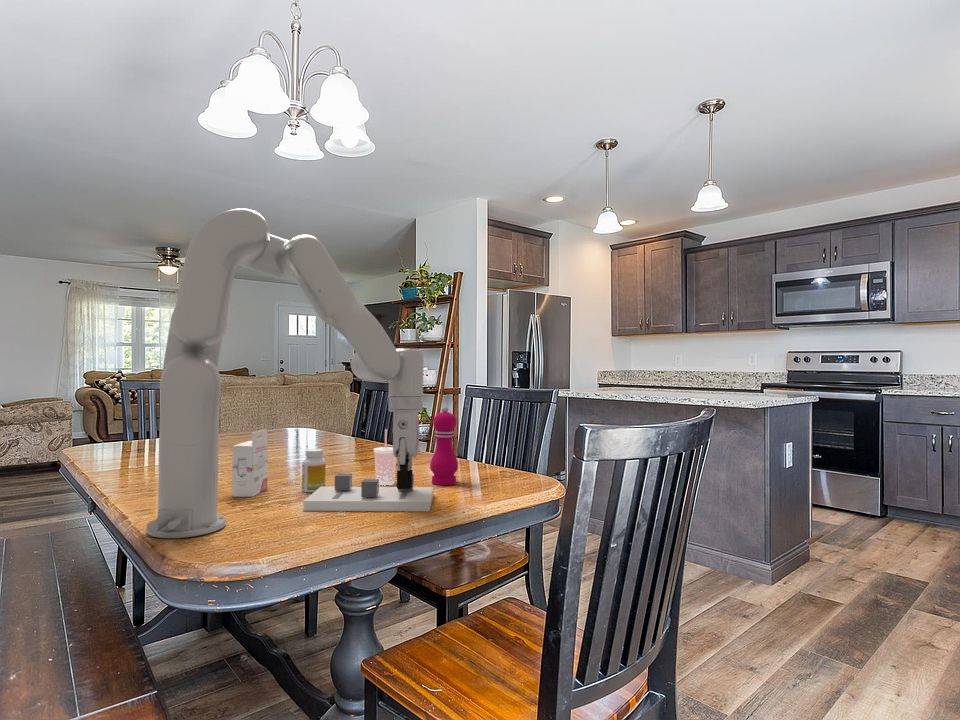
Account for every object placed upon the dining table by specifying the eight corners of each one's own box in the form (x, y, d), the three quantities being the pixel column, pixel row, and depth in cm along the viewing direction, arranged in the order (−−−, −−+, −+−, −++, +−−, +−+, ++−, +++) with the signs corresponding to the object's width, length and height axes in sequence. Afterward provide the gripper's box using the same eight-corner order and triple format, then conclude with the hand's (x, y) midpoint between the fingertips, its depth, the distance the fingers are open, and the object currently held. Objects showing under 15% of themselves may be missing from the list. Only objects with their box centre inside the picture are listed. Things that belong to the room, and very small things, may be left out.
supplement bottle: (329, 489, 133) (330, 449, 133) (313, 493, 128) (314, 452, 128) (313, 487, 135) (314, 447, 135) (296, 491, 130) (297, 450, 131)
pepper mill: (462, 482, 143) (463, 405, 144) (449, 487, 137) (450, 407, 137) (438, 479, 146) (439, 404, 147) (424, 484, 140) (425, 406, 140)
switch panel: (429, 511, 114) (429, 501, 114) (303, 510, 113) (303, 500, 113) (433, 495, 128) (433, 486, 128) (320, 495, 127) (320, 486, 127)
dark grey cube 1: (349, 490, 122) (349, 476, 122) (334, 490, 121) (334, 476, 122) (351, 487, 125) (352, 473, 125) (337, 487, 124) (337, 473, 125)
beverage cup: (390, 487, 136) (391, 430, 137) (368, 485, 138) (369, 429, 138) (401, 482, 142) (401, 428, 142) (379, 480, 144) (380, 427, 144)
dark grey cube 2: (376, 497, 116) (376, 481, 116) (361, 497, 116) (361, 481, 116) (378, 493, 119) (378, 479, 119) (363, 493, 119) (364, 478, 119)
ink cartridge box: (247, 488, 133) (248, 427, 133) (267, 489, 132) (269, 428, 133) (230, 497, 124) (231, 432, 124) (252, 497, 124) (253, 432, 124)
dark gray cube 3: (412, 490, 122) (412, 476, 122) (397, 490, 122) (398, 476, 122) (413, 487, 125) (413, 473, 125) (399, 487, 125) (399, 473, 125)
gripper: (420, 407, 113) (418, 496, 113) (425, 402, 128) (424, 481, 128) (383, 406, 113) (382, 496, 113) (393, 402, 128) (391, 481, 127)
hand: (404, 488), depth 120 cm, fingers closed
